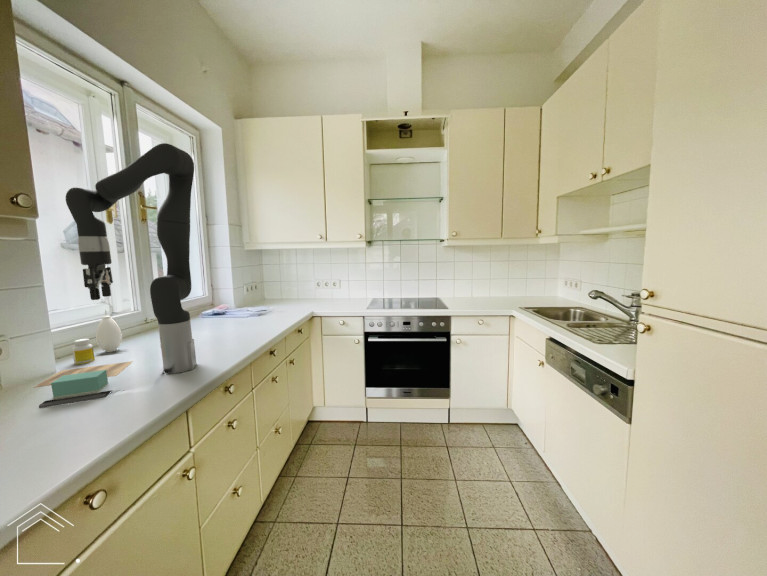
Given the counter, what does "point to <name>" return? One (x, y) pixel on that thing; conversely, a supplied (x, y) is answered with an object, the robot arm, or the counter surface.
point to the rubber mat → (74, 399)
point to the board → (110, 369)
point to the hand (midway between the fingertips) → (101, 297)
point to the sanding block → (79, 384)
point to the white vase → (108, 334)
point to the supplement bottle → (83, 351)
